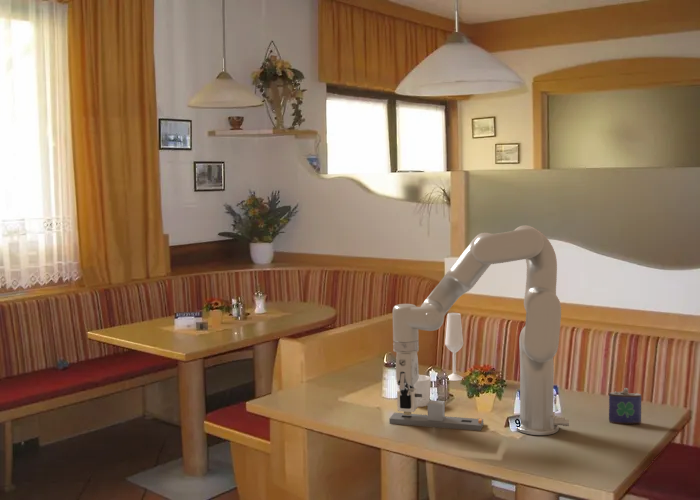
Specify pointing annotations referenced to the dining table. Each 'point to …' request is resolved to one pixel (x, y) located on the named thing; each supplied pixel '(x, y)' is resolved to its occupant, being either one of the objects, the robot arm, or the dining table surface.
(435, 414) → the grey block
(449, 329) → the champagne flute
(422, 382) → the white cup
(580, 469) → the dining table surface
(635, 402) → the flask
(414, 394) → the ivory charger
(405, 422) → the strip
